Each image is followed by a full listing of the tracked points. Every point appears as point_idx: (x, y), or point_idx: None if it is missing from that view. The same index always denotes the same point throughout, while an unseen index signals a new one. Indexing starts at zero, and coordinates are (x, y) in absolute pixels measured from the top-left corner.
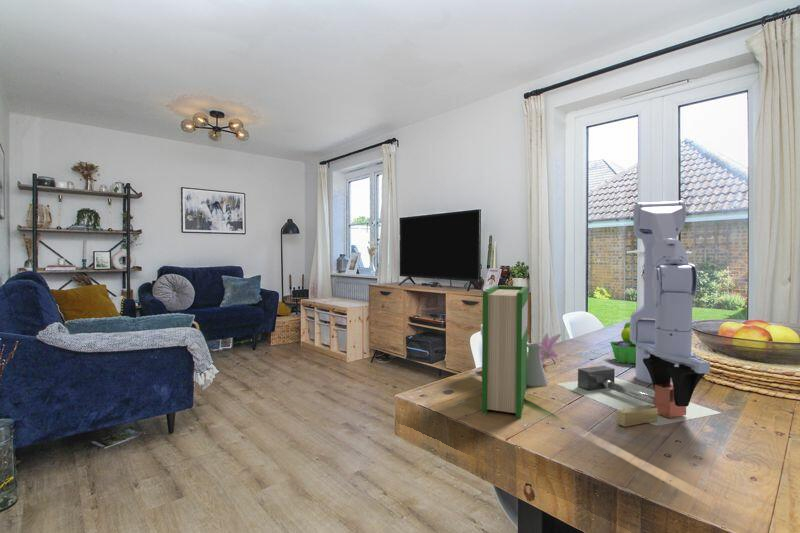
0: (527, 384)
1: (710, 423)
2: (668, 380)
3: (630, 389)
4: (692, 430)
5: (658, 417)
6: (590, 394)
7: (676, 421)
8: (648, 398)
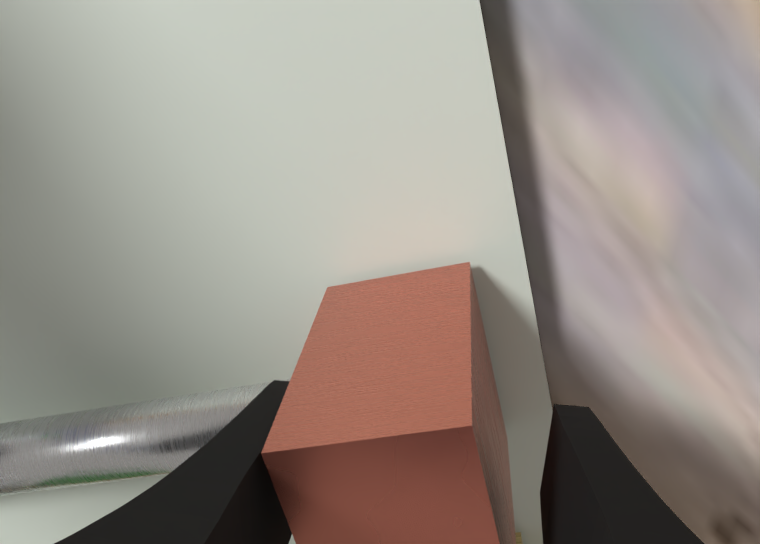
0: None
1: (535, 42)
2: (248, 492)
3: (42, 483)
4: (621, 318)
5: None
6: None
7: (545, 406)
8: None
